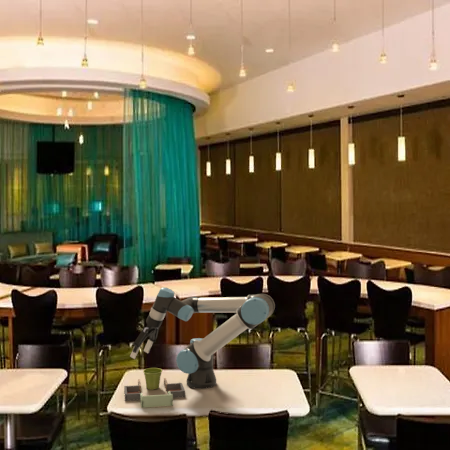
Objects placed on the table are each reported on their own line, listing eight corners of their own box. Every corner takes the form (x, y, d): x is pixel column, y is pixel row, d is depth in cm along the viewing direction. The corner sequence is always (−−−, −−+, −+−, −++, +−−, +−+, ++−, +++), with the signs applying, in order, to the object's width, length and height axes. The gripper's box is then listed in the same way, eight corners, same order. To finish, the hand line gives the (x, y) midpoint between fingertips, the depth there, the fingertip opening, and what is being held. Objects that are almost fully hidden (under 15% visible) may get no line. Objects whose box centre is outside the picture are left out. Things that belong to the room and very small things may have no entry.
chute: (137, 385, 281) (137, 379, 281) (165, 383, 284) (165, 378, 284) (138, 392, 271) (139, 385, 271) (167, 390, 274) (167, 384, 274)
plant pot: (158, 391, 272) (158, 374, 272) (140, 390, 274) (140, 372, 274) (164, 385, 281) (164, 368, 281) (146, 384, 283) (146, 367, 283)
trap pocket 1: (124, 392, 271) (124, 386, 271) (139, 391, 272) (139, 385, 272) (124, 400, 259) (125, 394, 259) (141, 399, 261) (141, 393, 261)
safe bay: (140, 399, 262) (140, 388, 261) (170, 397, 264) (170, 386, 264) (141, 407, 251) (141, 396, 251) (172, 405, 254) (172, 394, 253)
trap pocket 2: (166, 389, 275) (166, 383, 275) (181, 388, 277) (181, 382, 276) (169, 398, 263) (169, 391, 263) (185, 397, 265) (185, 390, 265)
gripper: (161, 310, 289) (145, 345, 292) (137, 317, 266) (120, 356, 269) (173, 317, 287) (156, 353, 290) (149, 325, 263) (132, 364, 267)
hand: (139, 354), depth 280 cm, fingers open, 13 cm apart
